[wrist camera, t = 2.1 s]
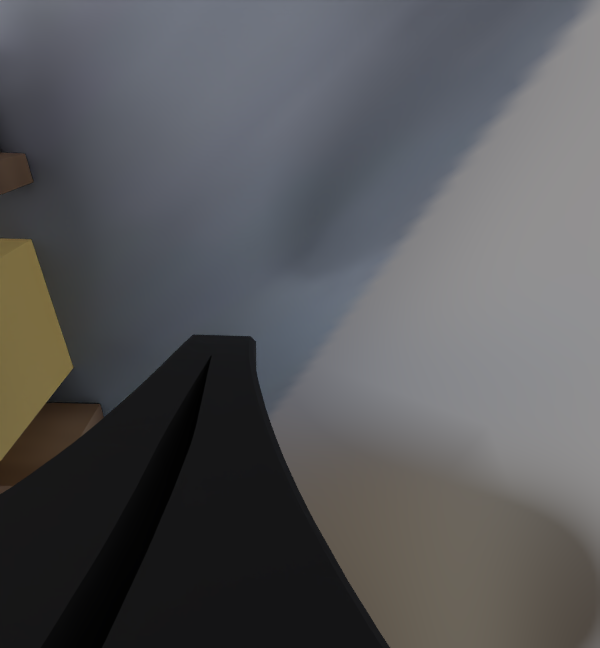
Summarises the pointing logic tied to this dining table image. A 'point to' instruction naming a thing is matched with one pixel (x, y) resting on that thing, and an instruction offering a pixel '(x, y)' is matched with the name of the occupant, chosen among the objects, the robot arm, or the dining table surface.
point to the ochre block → (26, 341)
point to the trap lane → (54, 418)
